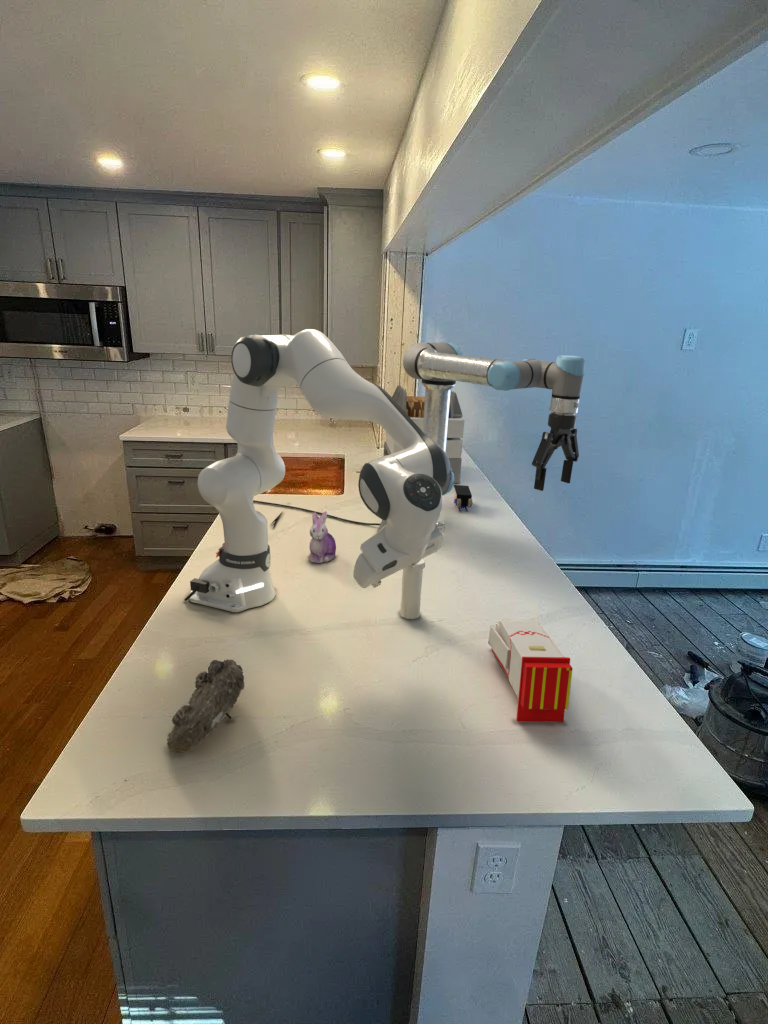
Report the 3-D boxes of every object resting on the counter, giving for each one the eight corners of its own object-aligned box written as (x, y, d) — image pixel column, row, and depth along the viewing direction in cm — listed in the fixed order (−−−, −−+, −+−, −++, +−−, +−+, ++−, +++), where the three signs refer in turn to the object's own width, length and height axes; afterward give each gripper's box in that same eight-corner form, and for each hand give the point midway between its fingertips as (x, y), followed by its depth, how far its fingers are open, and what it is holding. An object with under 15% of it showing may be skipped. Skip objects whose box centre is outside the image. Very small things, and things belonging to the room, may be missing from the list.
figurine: (314, 566, 172) (314, 520, 167) (302, 553, 180) (302, 509, 175) (342, 561, 176) (343, 516, 171) (330, 549, 184) (330, 505, 179)
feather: (289, 506, 225) (292, 502, 225) (272, 529, 199) (275, 525, 198) (286, 503, 225) (288, 500, 225) (268, 527, 199) (271, 522, 198)
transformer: (382, 463, 289) (386, 382, 275) (445, 464, 293) (451, 384, 279) (390, 482, 257) (394, 392, 243) (460, 483, 261) (468, 394, 247)
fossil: (192, 660, 117) (244, 628, 112) (224, 691, 120) (276, 661, 115) (142, 746, 98) (202, 712, 93) (182, 779, 101) (242, 748, 96)
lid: (415, 573, 139) (415, 567, 138) (396, 565, 143) (396, 559, 142) (429, 565, 143) (429, 559, 143) (410, 558, 147) (411, 553, 146)
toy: (535, 605, 135) (581, 664, 106) (530, 657, 138) (574, 728, 108) (484, 604, 135) (517, 662, 105) (480, 656, 137) (511, 727, 108)
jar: (411, 621, 144) (415, 567, 139) (396, 614, 147) (399, 561, 142) (423, 614, 148) (427, 561, 143) (408, 607, 151) (411, 555, 146)
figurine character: (472, 516, 224) (466, 500, 237) (474, 499, 220) (469, 483, 234) (455, 515, 224) (451, 499, 237) (457, 498, 220) (452, 483, 234)
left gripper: (437, 508, 116) (423, 544, 127) (353, 547, 107) (345, 582, 118) (456, 530, 114) (439, 565, 125) (371, 573, 105) (361, 606, 116)
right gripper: (548, 419, 148) (537, 496, 155) (598, 411, 163) (586, 482, 171) (525, 414, 153) (515, 489, 160) (575, 407, 169) (564, 476, 176)
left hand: (393, 574), depth 121 cm, fingers open, 8 cm apart
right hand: (552, 485), depth 166 cm, fingers open, 13 cm apart
